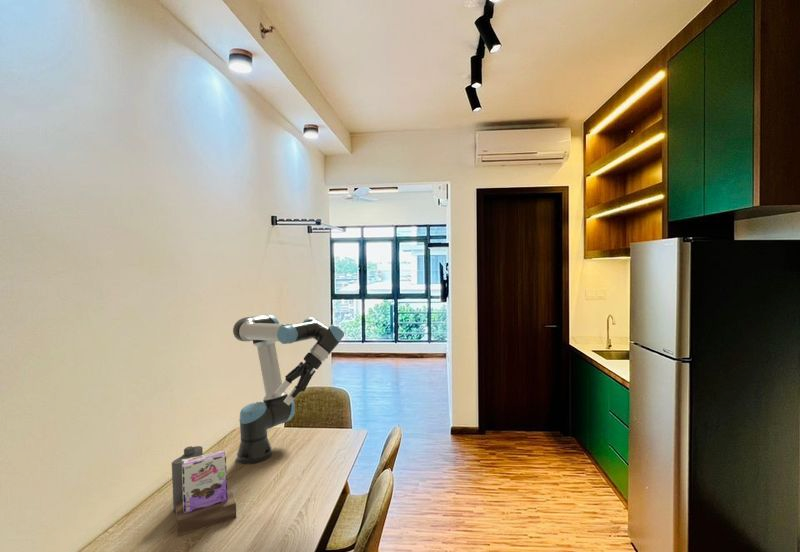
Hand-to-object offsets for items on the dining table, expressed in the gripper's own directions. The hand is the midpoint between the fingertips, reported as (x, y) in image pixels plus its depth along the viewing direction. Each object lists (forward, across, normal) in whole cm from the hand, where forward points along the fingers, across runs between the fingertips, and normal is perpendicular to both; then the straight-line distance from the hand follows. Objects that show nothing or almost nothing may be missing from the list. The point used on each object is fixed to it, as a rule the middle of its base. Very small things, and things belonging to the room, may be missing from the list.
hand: (281, 398), depth 163 cm
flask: (+48, +6, 0) cm, 48 cm away
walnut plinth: (+45, -9, -3) cm, 46 cm away
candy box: (+41, -9, +1) cm, 42 cm away
